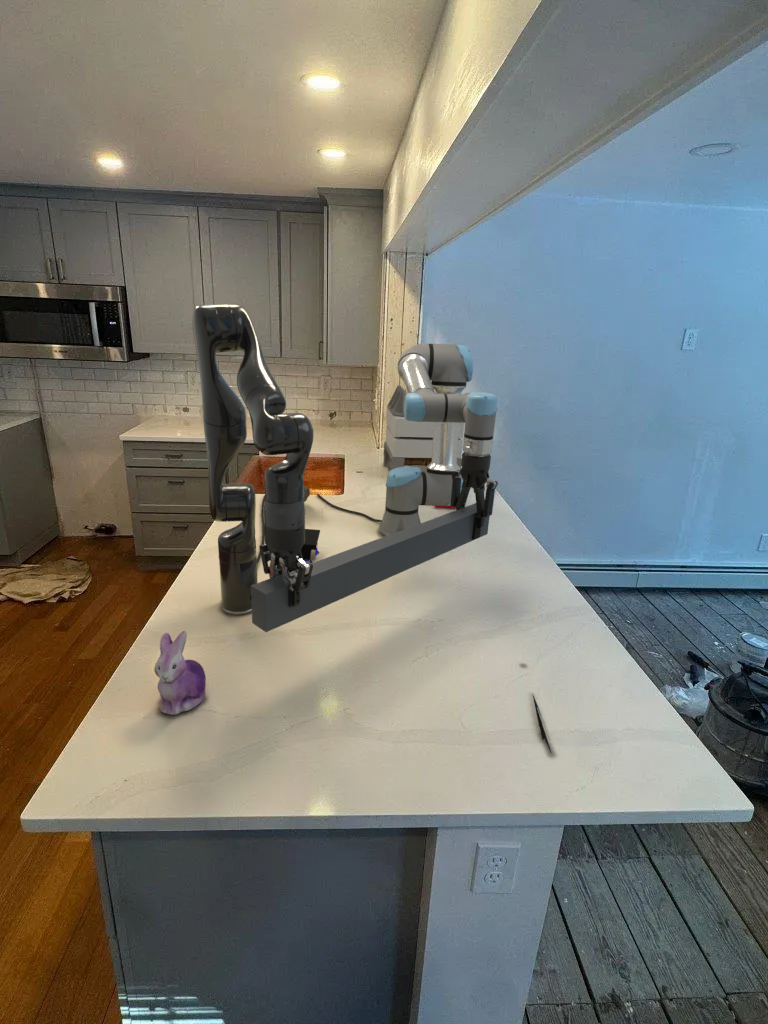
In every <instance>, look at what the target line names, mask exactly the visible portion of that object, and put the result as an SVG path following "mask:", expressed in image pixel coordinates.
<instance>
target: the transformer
mask: <svg viewBox="0 0 768 1024" xmlns="http://www.w3.org/2000/svg"><path fill="white" fill-rule="evenodd" d="M406 394H408V393H407V390H406V389H404V388H403V387H402V385H399V384H398V385H397V386H396V388H395V390H394V392H393V394H392V395H391V398H390V400H389V402H388V404H387V405H386V413H385V414H386V415H385V423H386V428H385V438H384V442H383V466H384V467H388V468H389V471H391V470H392V469H395V468H398V467H403V466H413V467H427V466H428V465H429V464H430V463H431V462H432V445H433V428H434V422H416V421H408V420H406V419H405V417H404V399H405V396H406ZM464 432H465V423H459V433H458V448H457V465H458V466H459V467H460V468H462V466H461V461H462V454H463V441H464V440H462V439H464ZM460 470H461V469H460Z"/></svg>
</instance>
